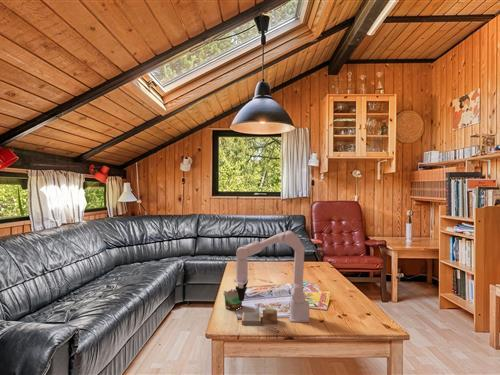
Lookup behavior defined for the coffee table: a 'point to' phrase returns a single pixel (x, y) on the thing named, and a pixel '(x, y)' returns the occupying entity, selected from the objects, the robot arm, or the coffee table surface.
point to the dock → (251, 318)
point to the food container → (232, 300)
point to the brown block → (270, 317)
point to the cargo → (269, 310)
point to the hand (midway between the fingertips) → (241, 297)
